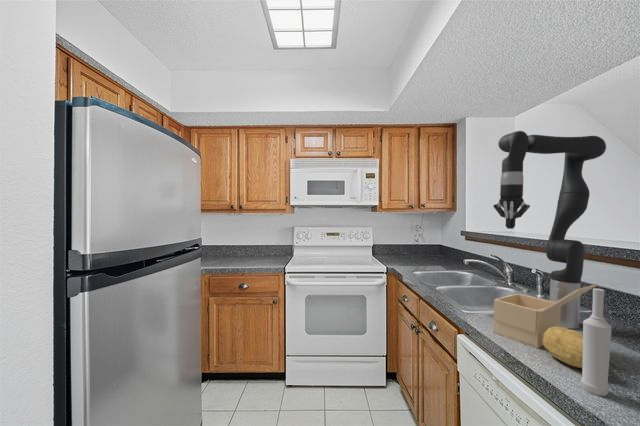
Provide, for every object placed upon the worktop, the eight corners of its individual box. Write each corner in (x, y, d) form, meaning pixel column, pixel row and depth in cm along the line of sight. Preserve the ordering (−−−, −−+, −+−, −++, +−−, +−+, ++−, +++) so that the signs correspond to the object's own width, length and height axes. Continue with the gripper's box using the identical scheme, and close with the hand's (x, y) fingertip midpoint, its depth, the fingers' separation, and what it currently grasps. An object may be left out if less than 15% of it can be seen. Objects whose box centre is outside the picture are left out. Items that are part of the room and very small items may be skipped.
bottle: (594, 383, 78) (598, 286, 77) (614, 396, 72) (619, 292, 72) (574, 383, 77) (579, 286, 77) (593, 396, 72) (598, 292, 72)
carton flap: (596, 283, 97) (598, 284, 96) (561, 304, 105) (562, 305, 104) (577, 289, 89) (578, 290, 88) (540, 310, 97) (541, 312, 96)
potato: (573, 353, 94) (574, 323, 94) (608, 379, 80) (609, 344, 79) (537, 350, 96) (538, 320, 96) (564, 374, 82) (566, 340, 81)
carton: (516, 324, 118) (518, 293, 117) (560, 337, 106) (561, 303, 105) (492, 332, 109) (493, 299, 108) (536, 348, 97) (537, 311, 96)
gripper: (535, 183, 115) (533, 229, 115) (499, 185, 126) (498, 227, 126) (525, 182, 111) (523, 230, 111) (489, 184, 122) (487, 227, 122)
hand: (510, 228), depth 119 cm, fingers closed
